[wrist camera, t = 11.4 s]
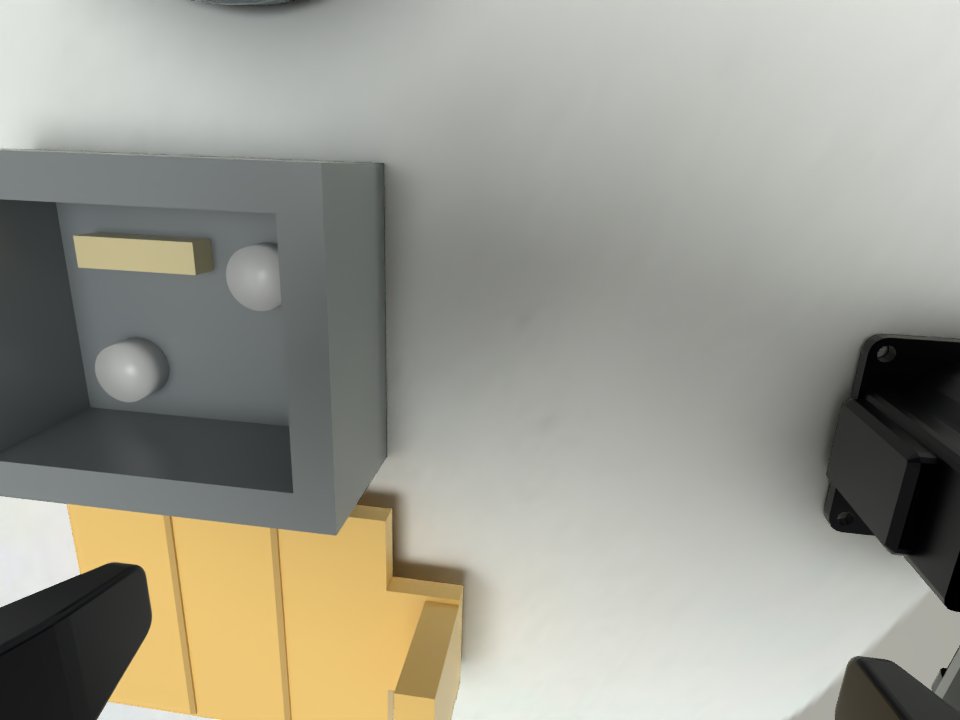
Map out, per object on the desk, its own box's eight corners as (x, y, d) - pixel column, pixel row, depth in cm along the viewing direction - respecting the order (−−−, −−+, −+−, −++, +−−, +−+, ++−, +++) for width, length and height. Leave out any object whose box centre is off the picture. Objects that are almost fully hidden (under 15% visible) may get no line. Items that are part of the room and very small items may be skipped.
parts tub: (383, 163, 19) (321, 162, 14) (386, 456, 22) (336, 535, 17) (33, 149, 21) (-128, 145, 16) (82, 425, 24) (-41, 491, 19)
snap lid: (470, 501, 22) (436, 612, 17) (462, 717, 25) (431, 870, 20) (99, 461, 24) (-42, 549, 18) (133, 667, 27) (22, 794, 22)
